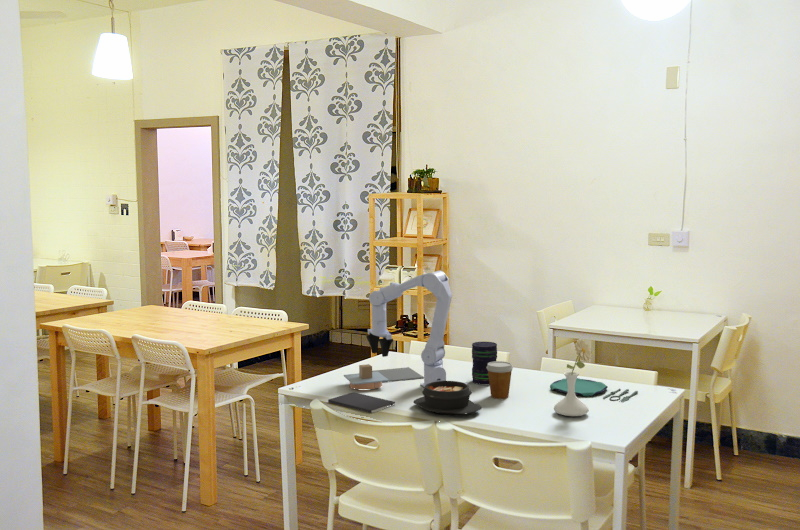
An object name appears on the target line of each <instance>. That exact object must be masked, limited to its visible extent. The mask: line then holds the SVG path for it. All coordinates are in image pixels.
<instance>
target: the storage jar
mask: <svg viewBox="0 0 800 530" xmlns="http://www.w3.org/2000/svg"><path fill="white" fill-rule="evenodd" d="M471 346H472V347H471V359H472V368H471V376H472V377H471V378H472V379H471V383H473V384H476V385H480V386H481V385H482V386H490V384H489V376H488V370H487V368H486V367H487V365H488V363H489V362H494V361H497V359H498V348H497V346H498V344H497V342H494V341H475V342H472V343H471Z"/></svg>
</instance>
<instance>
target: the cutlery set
mask: <svg viewBox="0 0 800 530" xmlns="http://www.w3.org/2000/svg"><path fill="white" fill-rule="evenodd" d="M549 389H550V390H551V391H553V390H555V391H557V392H561V393H565V394H567V393H568V383H567V379H566V378H561V379H559V380H558V379H557V380H555V381H553V382H552V383H551V384H550V385H549ZM607 389H608V386H607V385H606V384H605V383H603V382H602V381H595V380H591V379H584V378H579V377H577V378H576V381H575V395H576V396H577V395H581V396H583V397H592V396H594V395H597V394H600V393H604V392H605V391H606V390H607ZM621 390H622V389H621V388H618V389H616V390H614V391H611V392H610V393H608V394H606V395H605V396H603V397H602V399H603V400H605V399H607V398H609V399H610V400H611V401H613V398H614V399H615V398H618V399H615V401H618V402H619V403H624V402H627V401H630V398H632V397H634V396H635V395H637V394H638V393H639V391H638V390H635V391H634V392H632V393H631V394H629V395H626V396H623V395H624V394H627V393H628V392H629V391H630V389H629V388H627V389H625V390H623V391H622V392H620V391H621ZM616 392H620V394H618V395H614V394H616ZM621 396H623V397H622V399H621ZM620 399H621V400H620ZM620 401H621V402H620Z"/></svg>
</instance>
